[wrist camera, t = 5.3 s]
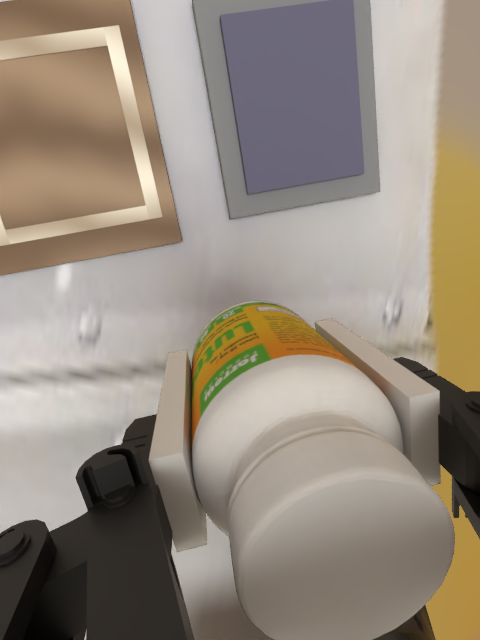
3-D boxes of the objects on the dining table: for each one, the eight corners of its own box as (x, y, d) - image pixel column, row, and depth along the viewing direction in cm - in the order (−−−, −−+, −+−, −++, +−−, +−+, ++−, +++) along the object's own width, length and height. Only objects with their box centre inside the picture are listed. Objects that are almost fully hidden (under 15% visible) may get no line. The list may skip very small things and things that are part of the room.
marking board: (182, 241, 27) (181, 241, 26) (-2, 275, 26) (-9, 276, 25) (128, -6, 22) (126, -15, 22) (-98, 22, 21) (-110, 14, 21)
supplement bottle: (226, 276, 14) (293, 380, 5) (334, 329, 15) (553, 493, 6) (171, 386, 15) (137, 652, 6) (276, 428, 16) (388, 699, 7)
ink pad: (373, 192, 28) (384, 190, 26) (229, 219, 27) (231, 218, 26) (361, -18, 24) (373, -34, 23) (192, 5, 23) (192, -11, 22)
